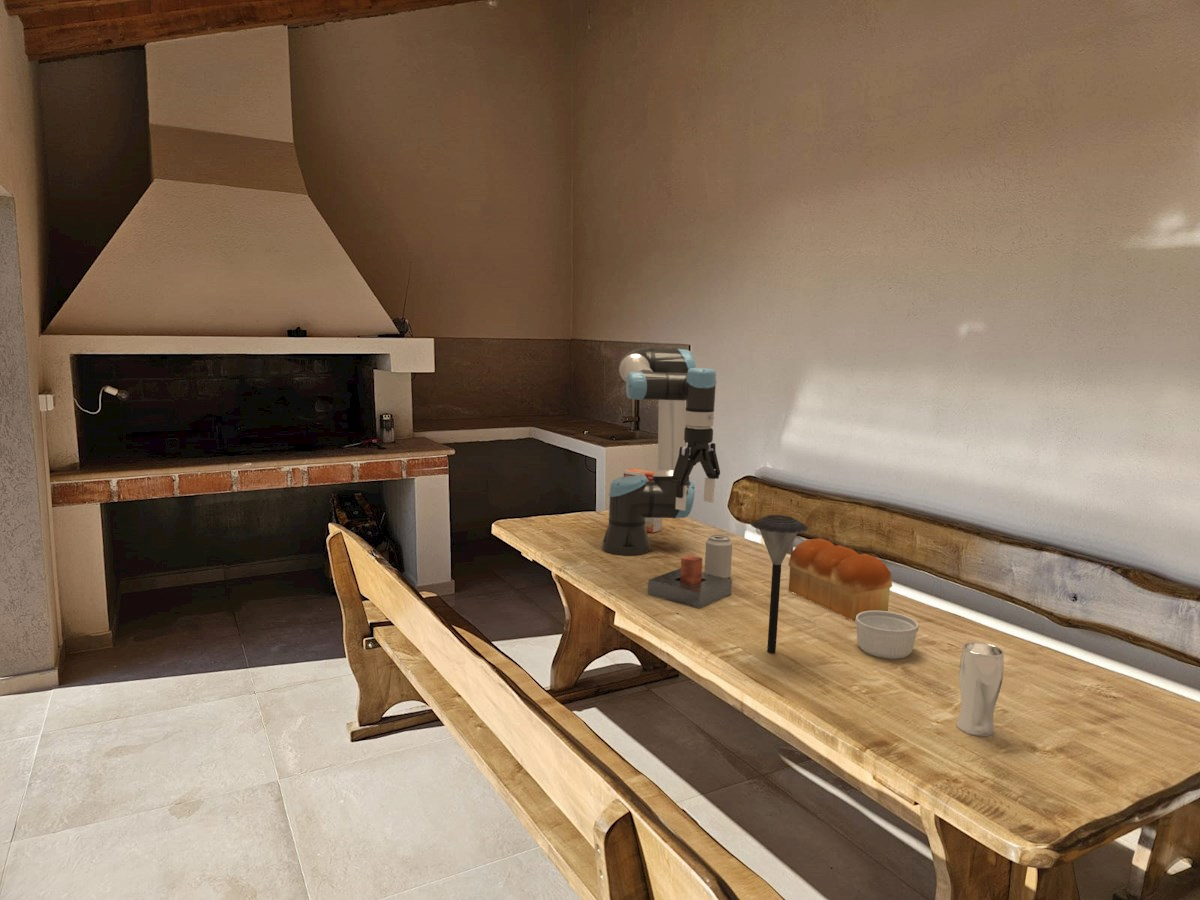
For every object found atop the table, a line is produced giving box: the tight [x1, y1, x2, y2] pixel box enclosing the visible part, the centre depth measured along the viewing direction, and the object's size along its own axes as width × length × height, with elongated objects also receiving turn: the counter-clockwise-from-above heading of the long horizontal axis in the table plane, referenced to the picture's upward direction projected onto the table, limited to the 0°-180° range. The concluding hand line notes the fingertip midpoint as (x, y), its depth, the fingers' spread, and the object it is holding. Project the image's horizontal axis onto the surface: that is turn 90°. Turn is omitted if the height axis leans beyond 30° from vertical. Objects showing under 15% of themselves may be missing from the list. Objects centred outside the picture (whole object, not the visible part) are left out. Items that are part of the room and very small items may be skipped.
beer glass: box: [956, 641, 1005, 738], centre depth 144 cm, size 7×7×15 cm
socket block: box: [647, 567, 733, 609], centre depth 215 cm, size 16×16×4 cm
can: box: [703, 533, 733, 579], centre depth 231 cm, size 8×8×12 cm
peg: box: [680, 554, 703, 585], centre depth 215 cm, size 4×4×10 cm
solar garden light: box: [750, 514, 809, 654], centre depth 176 cm, size 12×12×30 cm
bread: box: [787, 537, 893, 621], centre depth 212 cm, size 25×12×15 cm, turn 27°
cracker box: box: [623, 467, 663, 534], centre depth 286 cm, size 14×6×21 cm, turn 50°
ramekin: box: [854, 610, 919, 660], centre depth 181 cm, size 13×13×7 cm
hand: (694, 505), depth 216 cm, fingers open, 13 cm apart
